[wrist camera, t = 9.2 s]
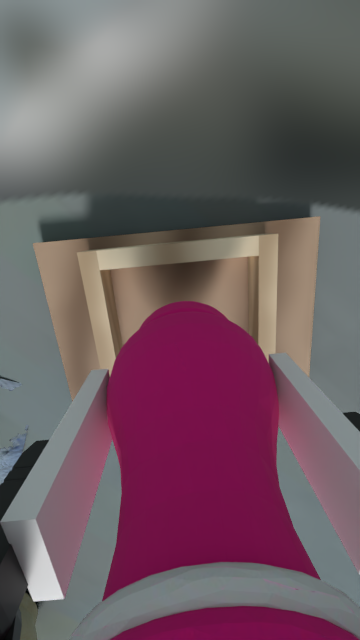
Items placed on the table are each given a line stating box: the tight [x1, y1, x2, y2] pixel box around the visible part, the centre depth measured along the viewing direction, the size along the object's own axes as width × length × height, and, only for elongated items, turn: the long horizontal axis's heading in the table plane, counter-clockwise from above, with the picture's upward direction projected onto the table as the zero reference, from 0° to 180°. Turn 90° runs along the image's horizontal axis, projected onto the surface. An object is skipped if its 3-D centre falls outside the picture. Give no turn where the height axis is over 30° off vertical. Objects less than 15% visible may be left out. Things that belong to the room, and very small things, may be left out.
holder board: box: [33, 216, 320, 402], centre depth 20 cm, size 20×14×4 cm
